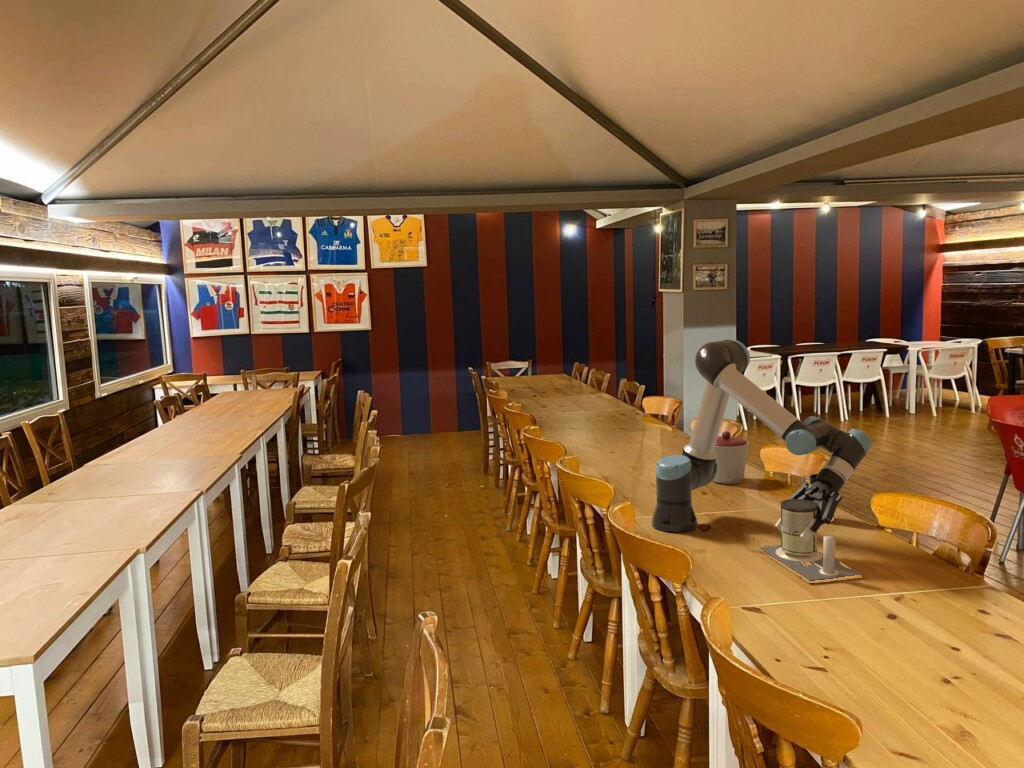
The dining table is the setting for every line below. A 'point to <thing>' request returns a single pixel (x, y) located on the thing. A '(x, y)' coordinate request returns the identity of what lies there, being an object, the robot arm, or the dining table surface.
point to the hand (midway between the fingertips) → (790, 533)
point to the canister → (730, 458)
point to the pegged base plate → (814, 562)
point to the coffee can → (797, 526)
